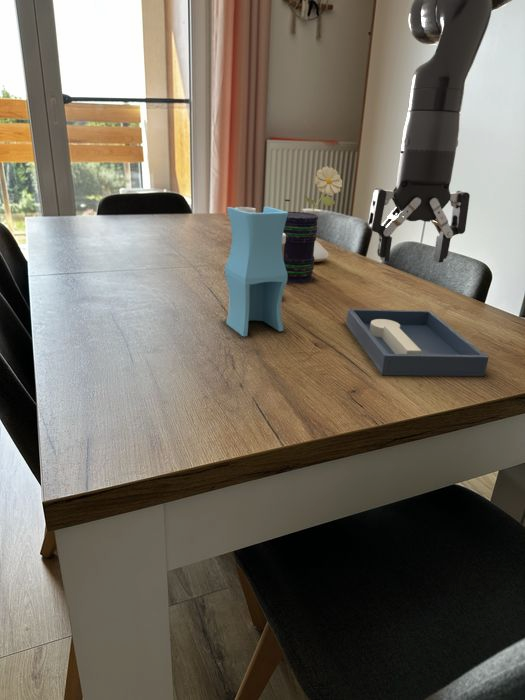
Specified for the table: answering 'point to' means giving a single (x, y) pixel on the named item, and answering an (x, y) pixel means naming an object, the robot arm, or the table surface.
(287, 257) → the storage jar
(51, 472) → the table surface
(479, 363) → the tray
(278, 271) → the vase
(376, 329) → the cream round-headed paddle
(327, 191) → the flower in vase
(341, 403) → the table surface
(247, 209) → the drinking glass
